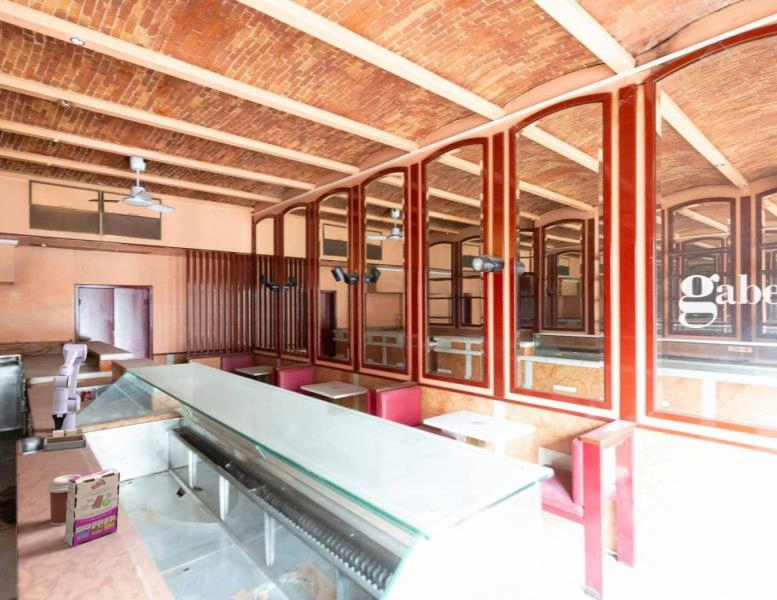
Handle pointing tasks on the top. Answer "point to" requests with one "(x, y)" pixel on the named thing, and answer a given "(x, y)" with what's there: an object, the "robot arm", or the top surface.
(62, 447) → the tray
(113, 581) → the top surface
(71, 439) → the plate
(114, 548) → the top surface
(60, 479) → the coffee cup
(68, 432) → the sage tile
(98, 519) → the candy bar box
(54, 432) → the cream tile
